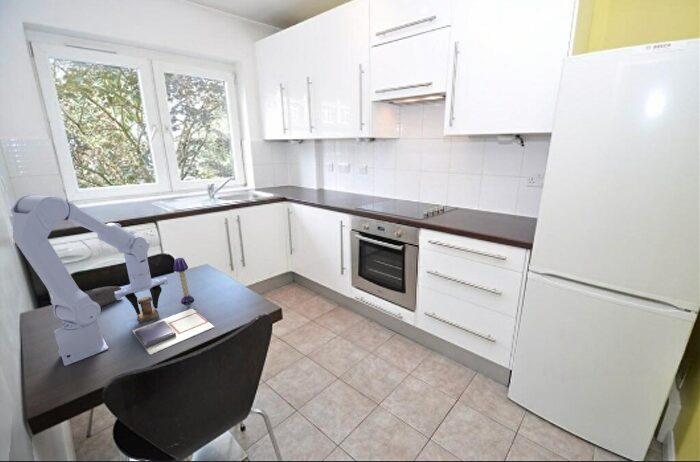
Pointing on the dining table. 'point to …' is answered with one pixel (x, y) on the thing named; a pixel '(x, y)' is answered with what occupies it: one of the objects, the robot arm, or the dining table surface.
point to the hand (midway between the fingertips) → (147, 310)
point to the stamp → (147, 310)
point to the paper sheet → (180, 328)
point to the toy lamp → (183, 279)
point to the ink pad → (155, 334)
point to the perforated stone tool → (103, 295)
